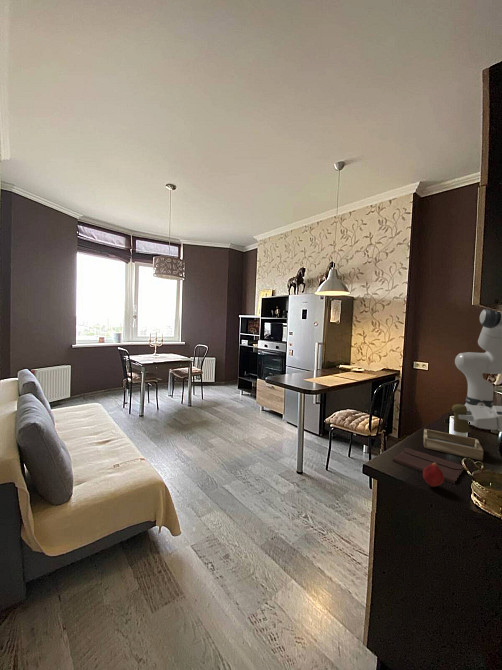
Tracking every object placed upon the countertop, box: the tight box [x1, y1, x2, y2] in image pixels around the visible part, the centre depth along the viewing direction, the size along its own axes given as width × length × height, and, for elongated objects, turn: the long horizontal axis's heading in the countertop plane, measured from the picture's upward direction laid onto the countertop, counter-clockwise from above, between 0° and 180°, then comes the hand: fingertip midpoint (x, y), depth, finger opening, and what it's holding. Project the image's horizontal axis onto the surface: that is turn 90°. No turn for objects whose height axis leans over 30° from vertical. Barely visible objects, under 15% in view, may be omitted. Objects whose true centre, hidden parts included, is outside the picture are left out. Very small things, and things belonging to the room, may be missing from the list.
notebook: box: [392, 447, 465, 484], centre depth 110 cm, size 15×20×2 cm
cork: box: [451, 403, 472, 434], centre depth 125 cm, size 6×6×11 cm
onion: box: [422, 463, 445, 488], centre depth 95 cm, size 6×6×8 cm
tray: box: [423, 428, 484, 461], centre depth 127 cm, size 14×20×4 cm
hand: (457, 414), depth 126 cm, fingers closed on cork, 4 cm apart
